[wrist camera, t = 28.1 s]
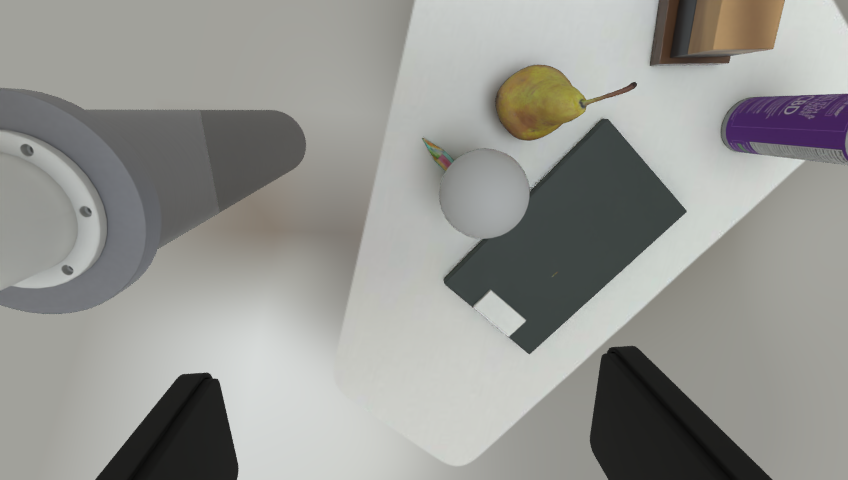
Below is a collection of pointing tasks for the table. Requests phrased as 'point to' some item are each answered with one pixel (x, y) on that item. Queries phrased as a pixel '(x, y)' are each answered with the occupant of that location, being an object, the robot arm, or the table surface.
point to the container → (790, 127)
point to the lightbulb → (484, 193)
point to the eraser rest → (665, 39)
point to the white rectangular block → (499, 313)
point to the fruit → (541, 101)
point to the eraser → (725, 27)
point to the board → (571, 235)
